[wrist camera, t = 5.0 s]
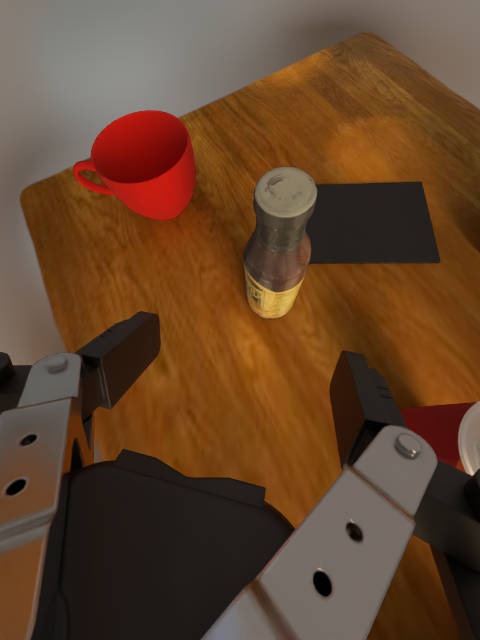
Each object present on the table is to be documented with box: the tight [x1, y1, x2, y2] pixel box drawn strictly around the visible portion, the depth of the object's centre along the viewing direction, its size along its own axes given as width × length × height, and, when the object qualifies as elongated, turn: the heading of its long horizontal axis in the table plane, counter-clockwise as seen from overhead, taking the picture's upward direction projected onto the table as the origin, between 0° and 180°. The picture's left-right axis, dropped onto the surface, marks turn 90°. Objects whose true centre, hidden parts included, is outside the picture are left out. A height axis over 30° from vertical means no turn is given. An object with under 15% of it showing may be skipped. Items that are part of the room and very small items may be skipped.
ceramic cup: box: [73, 110, 196, 220], centre depth 37 cm, size 13×17×10 cm
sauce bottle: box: [243, 167, 317, 320], centre depth 25 cm, size 7×6×20 cm
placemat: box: [305, 182, 440, 263], centre depth 38 cm, size 20×14×1 cm
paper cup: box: [400, 401, 480, 476], centre depth 22 cm, size 8×8×14 cm
